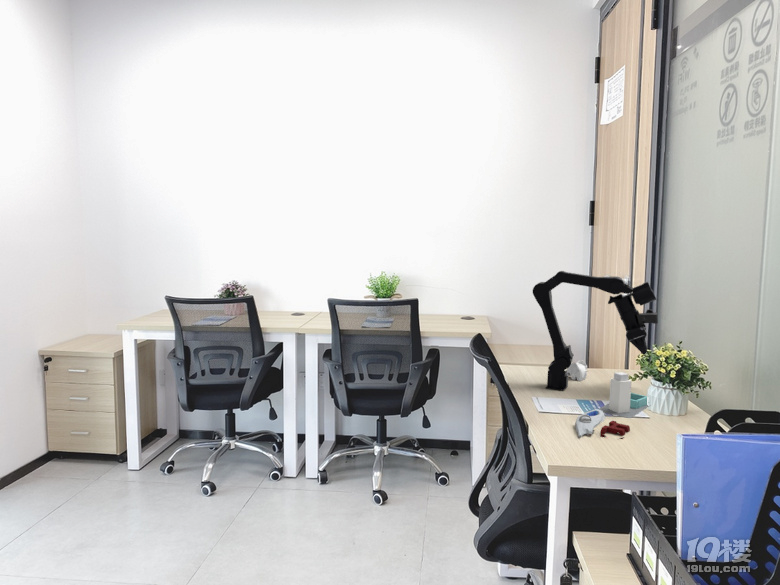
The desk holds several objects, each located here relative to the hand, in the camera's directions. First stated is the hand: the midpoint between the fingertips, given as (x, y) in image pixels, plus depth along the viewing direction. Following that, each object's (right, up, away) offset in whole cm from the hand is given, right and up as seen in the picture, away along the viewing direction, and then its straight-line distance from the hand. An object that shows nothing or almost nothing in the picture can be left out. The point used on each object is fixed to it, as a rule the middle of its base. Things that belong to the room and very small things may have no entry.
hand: (646, 352), depth 216 cm
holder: (-9, -16, -10) cm, 21 cm away
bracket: (-23, -21, -36) cm, 48 cm away
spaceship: (-29, -20, -30) cm, 46 cm away
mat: (-12, -17, -13) cm, 25 cm away
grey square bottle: (-16, -17, -17) cm, 29 cm away
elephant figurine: (-17, -13, +26) cm, 33 cm away
